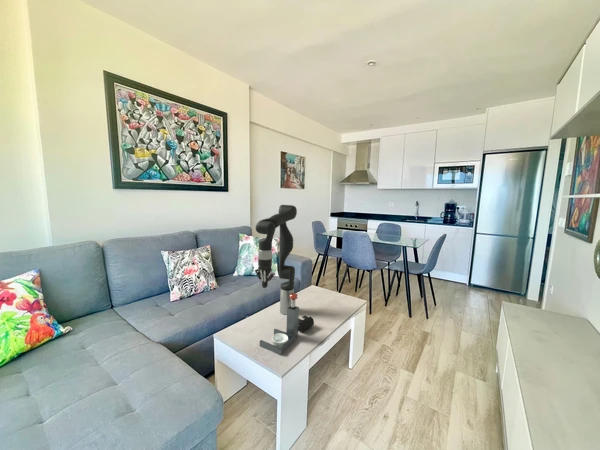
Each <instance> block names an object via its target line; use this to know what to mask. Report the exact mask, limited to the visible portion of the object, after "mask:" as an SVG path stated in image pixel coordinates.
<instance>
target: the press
mask: <svg viewBox="0 0 600 450" xmlns="http://www.w3.org/2000/svg"><path fill="white" fill-rule="evenodd" d="M299 316H300V307H299V306H296V305H295V309H294V310H293V309H291V306H290V307H288V308H287V315H286V330H285V331H286V332H285V331H282V330H280V329H278V328H274V329H273V335H275V334H278V333H282V334H285V335H287V336H288V341H287V342H286V343H285V344H284V345H283V346H282V347H281V348H279V347H277V346H275V345H273V343H270V342H268V341H265V340H262V339H259V347H260V348H263V349H266V350H267V351H270V352H272V353H274V354H277V355H279V356H282V355H283V354H284V353H285V352H286V351H287V350H288V349H289V348H290V347H291V346H292V345H293V344H294V343H295V342H296V339H297V338H298V336H299V331H298V322H299V319H300V318H299Z"/></svg>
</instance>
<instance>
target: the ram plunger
mask: <svg viewBox="0 0 600 450" xmlns="http://www.w3.org/2000/svg"><path fill="white" fill-rule="evenodd" d="M290 299H291V309H293V310H294V309H295V306H296V300H297V299H298V293H296V292H294V293H291V294H290Z"/></svg>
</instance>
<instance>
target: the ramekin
mask: <svg viewBox="0 0 600 450" xmlns="http://www.w3.org/2000/svg"><path fill="white" fill-rule="evenodd" d="M271 341H272V345H275V346H277V347H279V348H281V347H282V346H283V345H284V344H285V343H286V342H287V341H288V336H287V335H285V334H282V333H278V334H273V335H272V336H271Z"/></svg>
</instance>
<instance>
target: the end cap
mask: <svg viewBox="0 0 600 450" xmlns="http://www.w3.org/2000/svg"><path fill="white" fill-rule="evenodd" d="M301 318H302V319H301ZM301 318H299V322H298V333H299V332H300V333H302V332H304V331H306V330H308V329H309V328H311V327H312V326H314V324H315V320H314V318H313V317H312V316H309V317H308V316H307V315H303V316H301Z"/></svg>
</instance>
